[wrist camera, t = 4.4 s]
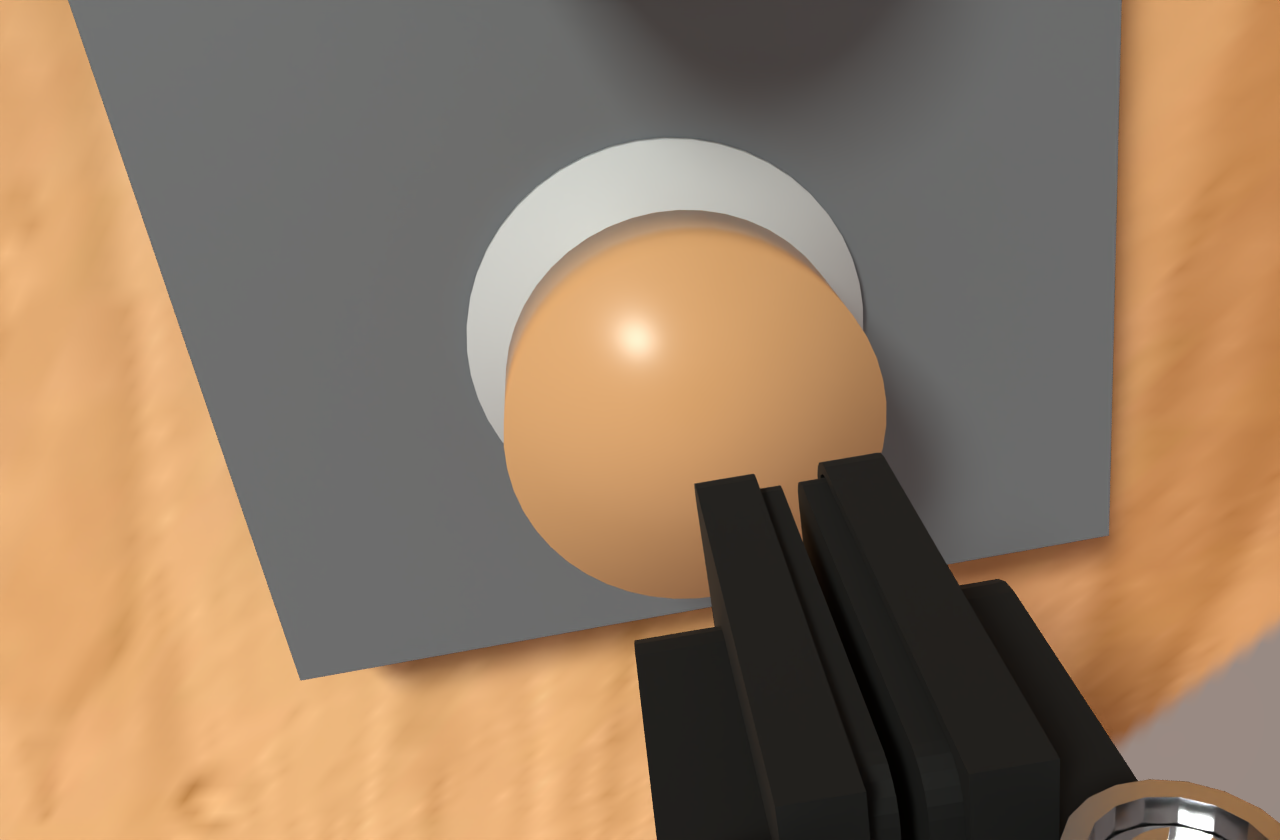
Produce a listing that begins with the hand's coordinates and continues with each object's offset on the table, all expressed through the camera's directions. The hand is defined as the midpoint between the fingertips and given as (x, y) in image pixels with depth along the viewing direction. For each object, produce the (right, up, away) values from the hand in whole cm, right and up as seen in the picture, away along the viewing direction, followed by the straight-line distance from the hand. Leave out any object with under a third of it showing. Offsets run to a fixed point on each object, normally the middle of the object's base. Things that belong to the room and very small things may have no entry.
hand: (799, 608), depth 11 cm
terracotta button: (-1, +3, +7) cm, 7 cm away
